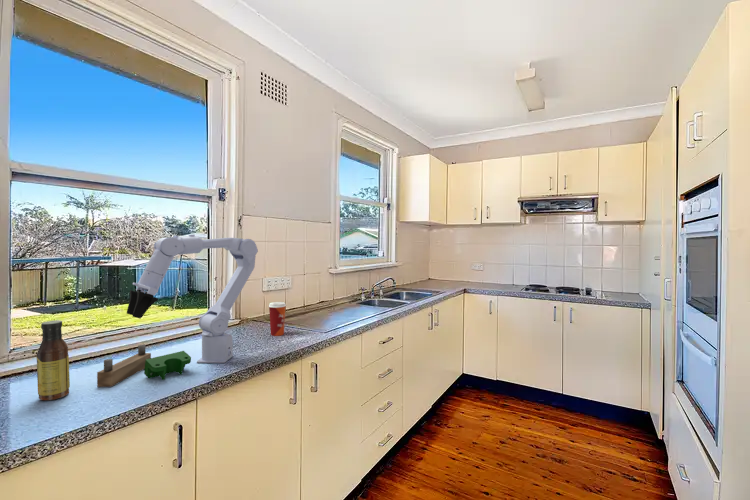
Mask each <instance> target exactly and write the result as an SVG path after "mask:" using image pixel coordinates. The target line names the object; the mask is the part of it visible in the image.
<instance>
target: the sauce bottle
mask: <svg viewBox="0 0 750 500" xmlns="http://www.w3.org/2000/svg"><path fill="white" fill-rule="evenodd" d="M40 324H41V327H40V329H41V332H42V338H41V339H42V340H41V343H40V344H39V347H38V351H37V353H36V377H37V395H38V399H39V400H40V401H46V402H47V401H55V400H59V399H60V398H61V399H62V398H64V397H66V396H68V395H69V393H70V386H71V385H70V383H71V382H70V362H69V361H70V356H69V355H70V354H69V345H68V344H67V342H66V340H64V339H63V338H62V337H63V334H62V332H63V331H62V328H63V321H62V320H58V319H57V320H48V321H43V322H42V323H40Z"/></svg>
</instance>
